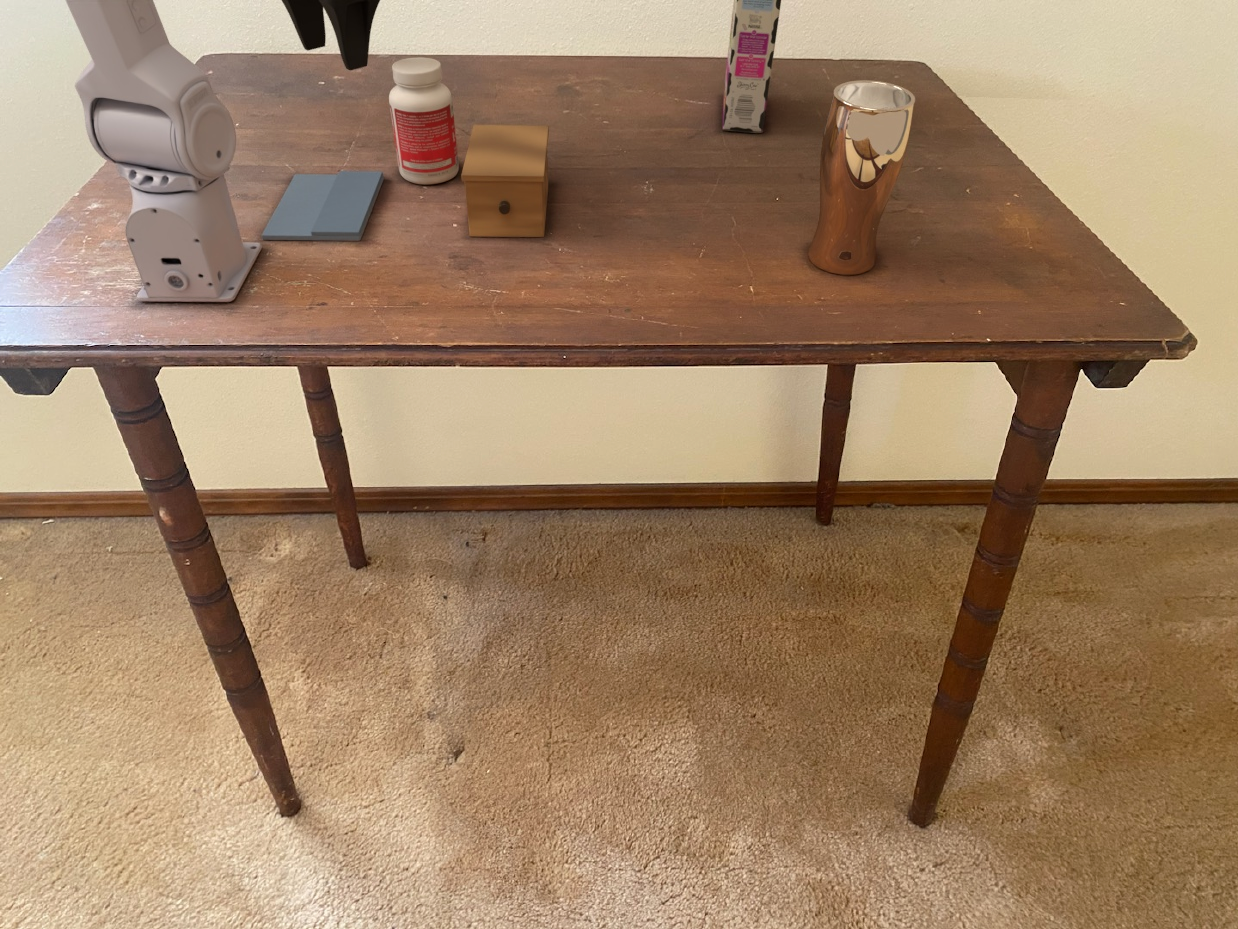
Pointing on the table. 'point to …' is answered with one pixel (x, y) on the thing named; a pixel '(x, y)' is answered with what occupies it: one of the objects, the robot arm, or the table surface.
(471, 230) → the birch box
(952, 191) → the table surface
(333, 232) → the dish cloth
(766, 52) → the candy bar box
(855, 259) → the beer glass
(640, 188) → the table surface
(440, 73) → the pill bottle
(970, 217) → the table surface
